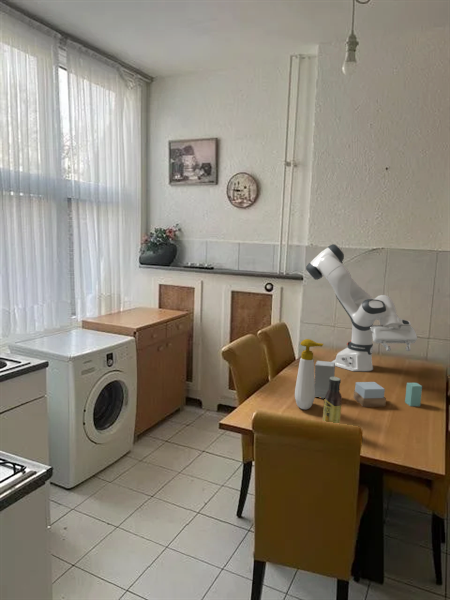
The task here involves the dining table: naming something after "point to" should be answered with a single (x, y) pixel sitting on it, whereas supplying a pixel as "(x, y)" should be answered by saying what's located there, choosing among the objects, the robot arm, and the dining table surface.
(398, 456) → the dining table surface
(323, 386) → the skincare box
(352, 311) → the robot arm
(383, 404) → the walnut block
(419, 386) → the teal block
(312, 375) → the soap bottle
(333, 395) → the sauce bottle
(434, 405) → the dining table surface
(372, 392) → the grey block
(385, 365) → the dining table surface
